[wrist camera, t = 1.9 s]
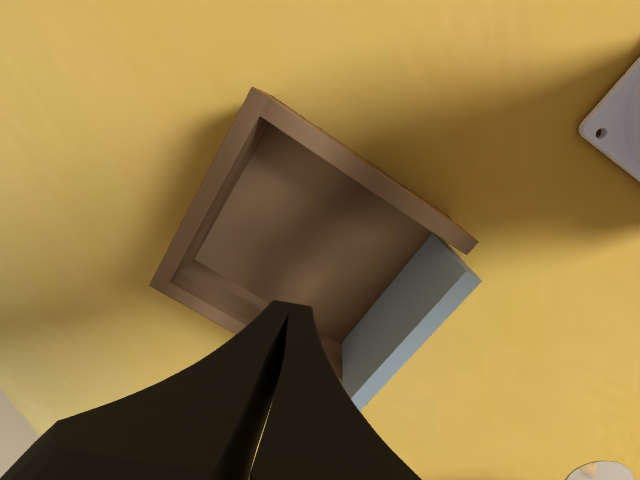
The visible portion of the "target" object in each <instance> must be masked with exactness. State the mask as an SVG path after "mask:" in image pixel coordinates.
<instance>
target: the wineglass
mask: <svg viewBox="0 0 640 480" xmlns="http://www.w3.org/2000/svg"><path fill="white" fill-rule="evenodd" d="M566 480H634V477H633V473H632V472H631V471H630V469H629V468H627V467H626V466H624V465H622V464H620V463H616V462H612V461H599V462H594V463H589V464H587V465H584V466H582V467H580V468H578V469H577V470H575V471H574V472H572V473H571V474H570V475H569V477H568V478H567V479H566Z"/></svg>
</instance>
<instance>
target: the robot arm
mask: <svg viewBox="0 0 640 480" xmlns="http://www.w3.org/2000/svg"><path fill="white" fill-rule="evenodd" d="M599 129H600V130H601V134H600V136H599V137H598V138H597V137H596V132H597V130H599ZM579 134H580V135H581V136H582V137H583V138H584V139H585V140H587V141H588V142H589V143H591V144H592V145H593V146H594V147H596V148H597V149H598V150H599V151H601V152H602V153H603V154H605V155H606V156H607V157H608V158H610V159H611V160H612V161H613V162H615V163H616V164H617V165H619V166H620V167H621V168H622V169H624V170H625V171H626V172H627V173H629V174H630V175H631V176H633V177H634V178H635V179H636V180H638V181H639V182H640V57H639V58H638V59H637V60H636V61H635V62H634V64H633V65H632V66H631V67H630V68H629V69H628V70H627V72H626V73H625V74H624V75H623V76H622V77H621V78H620V79H619V81H618V82H617V83H616V84H615V85H614V86H613V87H612V88H611V90H610V91H609V92H608V93H607V94H606V95H605V96H604V98H603V99H602V100H601V101H600V102H599V103H598V104H597V105H596V107H595V108H594V109H593V110H592V111H591V112H590V113H589V114H588V116H587V117H586V118H585V119H584V120H583V121H582V123H581V124H580V126H579ZM271 404H272V405H271ZM270 407H271V408H270ZM269 410H270V411H269ZM268 413H269V415H268ZM267 416H268V418H267ZM266 419H267V422H266ZM265 422H266V425H265ZM264 425H265V428H264ZM263 428H264V432H263V435H262V438H261V441H260V444H259V447H258V450H257V454H256V457H255V460H254V456H255V453H256V449H257V446H258V443H259V440H260V437H261V434H262V431H263ZM253 460H254V463H253ZM252 463H253V466H252ZM251 467H252V469H251ZM250 471H251V472H250ZM249 475H250V477H249ZM0 480H421V479H420V478H419V477H418V476H417V475H416V474H415V473H414V472H413V471H412V470H411V469H410V468H409V467H408V466H407V465H406V464H405V463H404V462H403V461H402V460H401V459H400V458H399V457H398V456H397V455H396V454H395V453H394V452H393V451H392V450H391V449H390V448H389V447H388V446H387V444H386V443H385V442H384V441H383V440H382V439H381V438H380V436H379V435H378V434H377V433H376V432H375V431H374V429H373V428H372V427H371V426H370V424H369V423H368V422H367V420H366V419H365V418H364V416H363V415H362V414H361V412H360V411H359V410H358V408H357V407H356V406H355V404H354V403H353V401H352V400H351V398H350V397H349V395H348V394H347V392H346V391H345V389H344V387H343V386H342V384H341V382H340V380H339V379H338V377H337V375H336V373H335V371H334V369H333V367H332V365H331V363H330V361H329V359H328V357H327V355H326V352H325V350H324V348H323V345H322V342H321V340H320V337H319V334H318V331H317V328H316V324H315V320H314V315H313V309H312V307H311V306H307V305H301V304H296V303H290V302H284V301H278V300H273V301H272V302H270V303H269V305H268V306H267V307H266V308H265V309H264V310H263V311H262V312H261V313H260V314H259V315H258V316H257V317H256V318H255V319H254V320H252V321H251V322H250V323H249V324H248V325H247V326H246V327H245V328H243V329H242V330H241V331H240V332H239V333H238V334H236V335H235V336H234V337H232V338H231V339H230V340H229V341H227V342H226V343H225V344H223V345H222V346H221V347H219V348H218V349H216V350H215V351H214V352H212V353H211V354H209V355H208V356H206V357H205V358H203V359H201V360H200V361H198V362H197V363H195V364H193V365H192V366H190V367H188V368H186V369H184V370H182V371H180V372H178V373H177V374H175V375H173V376H171V377H169V378H167V379H165V380H163V381H161V382H159V383H157V384H155V385H152V386H150V387H148V388H146V389H144V390H141V391H139V392H136V393H134V394H132V395H129V396H127V397H124V398H122V399H119V400H117V401H114V402H111V403H109V404H106V405H103V406H100V407H97V408H94V409H91V410H89V411H86V412H83V413H80V414H77V415H74V416H71V417H68V418H65V419H62V420H59V421H57V422H56V423H55V424H54V425H53V426H52V427H51V428H49V429H48V430H47V431H46V432H45V433H44V434H43V435H42V436H41V437H40V438H39V439H38V440H37V441H35V443H33V445H32V446H31V447H30V448H29V449H28V450H27V451H26V452H25V453H24V454H23V455H22V456H21V457H20V458H19V459H18V460H17V461H16V462H15V463H14V464H13V466H11V468H10V469H9V470H8V471H7V472H6V473H5V474H4V475H3V476H2V477H1V478H0Z"/></svg>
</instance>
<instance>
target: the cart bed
mask: <svg viewBox="0 0 640 480" xmlns="http://www.w3.org/2000/svg"><path fill="white" fill-rule="evenodd" d="M432 233H434V234H436V235H437V236H439V237H440V238H442V239H444V240H445V241H447V242H448V243H450V244H451V245H452V246H454V247H455V248H457V249H458V250H460V251H461V252H463V253H464V254H466V255H467V254H468V253H469V252H470V251H471V250H472V249H473V247H474V246H475V245H476V244H477V243H478V241H477V240H476V239H475V238H474V237H472V236H471V235H470V234H469V233H467V232H466V231H465V230H464V229H463V228H461V227H460V226H459V225H458V224H457V223H455V222H454V221H453V220H452V219H451V218H449V217H448V216H446V215H445V214H443V213H442V212H440V211H439V210H437V209H436V208H435V207H433V206H432V205H430V204H429V203H427V202H426V201H424V200H423V199H421V198H420V197H419V196H417V195H416V194H414V193H413V192H411V191H410V190H408V189H407V188H405V187H404V186H403V185H401V184H400V183H398V182H397V181H395V180H394V179H392V178H391V177H389V176H388V175H387V174H385V173H384V172H382V171H381V170H379V169H378V168H376V167H375V166H373V165H372V164H370V163H369V162H368V161H366V160H365V159H363V158H362V157H360V156H359V155H357V154H356V153H354V152H353V151H352V150H350V149H349V148H347V147H346V146H344V145H343V144H341V143H340V142H338V141H337V140H336V139H334V138H333V137H331V136H330V135H328V134H327V133H325V132H324V131H322V130H321V129H320V128H318V127H317V126H315V125H314V124H312V123H311V122H309V121H308V120H306V119H305V118H304V117H302V116H301V115H299V114H298V113H296V112H295V111H293V110H292V109H290V108H289V107H287V106H286V105H285V104H283V103H282V102H280V101H279V100H277V99H276V98H274V97H273V96H271V95H269V94H267V93H265V92H263V91H261V90H258V89H256V88H254V87H251V89H250V91H249V93H248V95H247V97H246V99H245V101H244V103H243V105H242V107H241V109H240V111H239V113H238V115H237V116H236V118H235V120H234V122H233V124H232V126H231V128H230V130H229V132H228V134H227V136H226V138H225V140H224V142H223V144H222V146H221V147H220V149H219V151H218V153H217V155H216V157H215V159H214V161H213V163H212V165H211V167H210V169H209V171H208V173H207V175H206V176H205V178H204V180H203V182H202V184H201V186H200V188H199V190H198V192H197V194H196V196H195V198H194V200H193V202H192V204H191V206H190V207H189V209H188V211H187V213H186V215H185V217H184V219H183V221H182V223H181V225H180V227H179V229H178V231H177V233H176V235H175V236H174V238H173V240H172V242H171V244H170V246H169V248H168V250H167V252H166V254H165V256H164V258H163V260H162V262H161V264H160V266H159V267H158V269H157V271H156V273H155V275H154V277H153V279H152V281H151V283H150V285H149V286H151V287H153V288H154V289H156V290H158V291H160V292H162V293H163V294H165V295H167V296H169V297H170V298H172V299H174V300H176V301H178V302H179V303H181V304H183V305H185V306H187V307H188V308H190V309H192V310H194V311H195V312H197V313H199V314H201V315H203V316H204V317H206V318H208V319H210V320H211V321H213V322H215V323H217V324H219V325H220V326H222V327H224V328H226V329H228V330H229V331H231V332H233V333H235V334H238V333H239V332H240V331H241V330H242V329H243V328H245V327H246V326H247V325H248V324H249V323H250V322H251V321H252V320H254V319H255V318H256V317H257V316H258V315H259V314H260V313H261V312H262V311H263V310H264V309H265V308H266V307H267V306H268V305H269V303H270V302H272V301H273V300H278V301H284V302H290V303H296V304H301V305H307V306H311V307H312V309H313V315H314V320H315V324H316V328H317V331H318V334H319V337H320V340H321V342H322V345H323V348H324V350H325V352H326V355H327V357H328V359H329V361H330V363H331V365H332V367H333V369H334V371H335V373H336V375H337V377H338V379H339V380H340V382H341V384H342V386H343V383H342V342H343V341H344V340H345V338H346V337H347V336H348V335H349V334H350V332H351V331H352V330H353V329H354V327H355V326H356V325H357V324H358V323H359V321H360V320H361V319H362V318H363V317H364V315H365V314H366V313H367V312H368V310H369V309H370V308H371V307H372V306H373V304H374V303H375V302H376V301H377V300H378V298H379V297H380V296H381V295H382V293H383V292H384V291H385V290H386V289H387V287H388V286H389V285H390V284H391V283H392V281H393V280H394V279H395V278H396V276H397V275H398V274H399V273H400V272H401V270H402V269H403V268H404V267H405V266H406V264H407V263H408V262H409V261H410V259H411V258H412V257H413V256H414V255H415V253H416V252H417V251H418V250H419V249H420V247H421V246H422V245H423V244H424V242H425V241H426V240H427V239H428V238H429V236H430V235H431V234H432Z"/></svg>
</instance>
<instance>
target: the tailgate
mask: <svg viewBox="0 0 640 480" xmlns="http://www.w3.org/2000/svg"><path fill="white" fill-rule="evenodd" d="M480 283H481V280H480V279H479V277H478V276H477V275H476V274H475V273H474V272H473V271H472V270H471V269H470V268H469V267H468V266H467V264H466V263H465V262H464V261H463V260H462V259H461V258H460V257H459V256H458V255H457V254H456V253H455V251H454V250H453V249H452V248H451V247H450V246H449V245H448V244H447V243H446V242H445V241H444V240H443V239H442V238H440V237H439V236H437V235H436V234H434V233H432V234H431V235H430V236H429V238H428V239H427V240H426V241H425V242H424V244H423V245H422V246H421V247H420V249H419V250H418V251H417V252H416V253H415V255H414V256H413V257H412V258H411V259H410V261H409V262H408V263H407V264H406V266H405V267H404V268H403V269H402V270H401V272H400V273H399V274H398V275H397V276H396V278H395V279H394V280H393V281H392V283H391V284H390V285H389V286H388V287H387V289H386V290H385V291H384V292H383V293H382V295H381V296H380V297H379V298H378V300H377V301H376V302H375V303H374V304H373V306H372V307H371V308H370V309H369V310H368V312H367V313H366V314H365V315H364V317H363V318H362V319H361V320H360V321H359V323H358V324H357V325H356V326H355V327H354V329H353V330H352V331H351V332H350V334H349V335H348V336H347V337H346V338H345V340H344V341H343V342H342V383H343V387H344V389H345V391H346V392H347V394H348V395H349V397H350V398H351V400H352V401H353V403H354V404H355V406H356V407H357V408H358V410H359V411H361V410H362V409H363V407H364V406H365V405H366V404H367V403H368V402H369V401H370V400H371V399H372V398H373V397H374V396H375V395H376V394H377V393H378V391H379V390H380V389H381V388H382V387H383V386H384V385H385V384H386V383H387V382H388V381H389V380H390V379H391V378H392V376H393V375H394V374H395V373H396V372H397V371H398V370H399V369H400V368H401V367H402V366H403V365H404V364H405V363H406V362H407V360H408V359H409V358H410V357H411V356H412V355H413V354H414V353H415V352H416V351H417V350H418V349H419V348H420V347H421V346H422V344H423V343H424V342H425V341H426V340H427V339H428V338H429V337H430V336H431V335H432V334H433V333H434V332H435V331H436V330H437V328H438V327H439V326H440V325H441V324H442V323H443V322H444V321H445V320H446V319H447V318H448V317H449V316H450V315H451V314H452V312H453V311H454V310H455V309H456V308H457V307H458V306H459V305H460V304H461V303H462V302H463V301H464V300H465V299H466V297H467V296H468V295H469V294H470V293H471V292H472V291H473V290H474V289H475V288H476V287H477V286H478V285H479V284H480Z"/></svg>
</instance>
